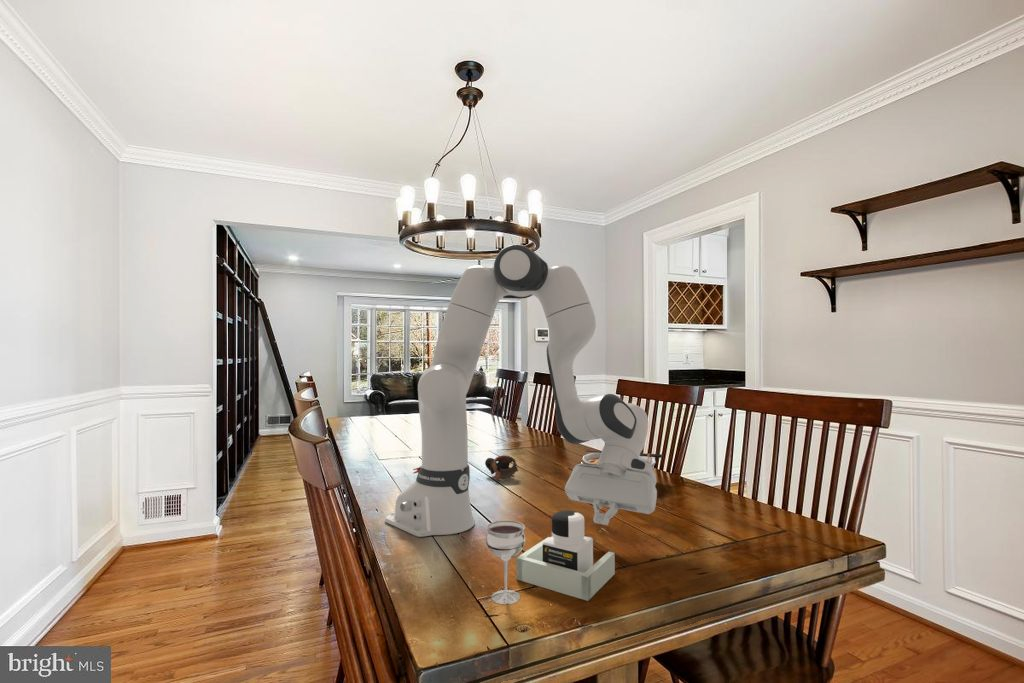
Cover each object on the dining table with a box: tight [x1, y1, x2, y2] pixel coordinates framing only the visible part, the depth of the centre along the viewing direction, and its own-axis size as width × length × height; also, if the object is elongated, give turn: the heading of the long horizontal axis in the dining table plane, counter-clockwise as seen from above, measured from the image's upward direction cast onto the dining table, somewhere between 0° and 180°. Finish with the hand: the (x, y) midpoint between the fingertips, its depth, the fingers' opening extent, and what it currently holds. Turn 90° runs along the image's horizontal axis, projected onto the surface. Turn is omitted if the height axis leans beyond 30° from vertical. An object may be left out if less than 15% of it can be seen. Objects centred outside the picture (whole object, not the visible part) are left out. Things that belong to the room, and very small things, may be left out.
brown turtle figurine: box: [484, 454, 519, 482], centre depth 164 cm, size 12×10×8 cm
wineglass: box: [485, 519, 526, 605], centre depth 86 cm, size 7×7×12 cm
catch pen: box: [515, 536, 616, 602], centre depth 94 cm, size 14×12×4 cm
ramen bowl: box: [582, 450, 663, 469], centre depth 158 cm, size 25×23×8 cm
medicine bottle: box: [543, 510, 594, 573], centre depth 93 cm, size 7×7×12 cm
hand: (600, 522), depth 106 cm, fingers closed
